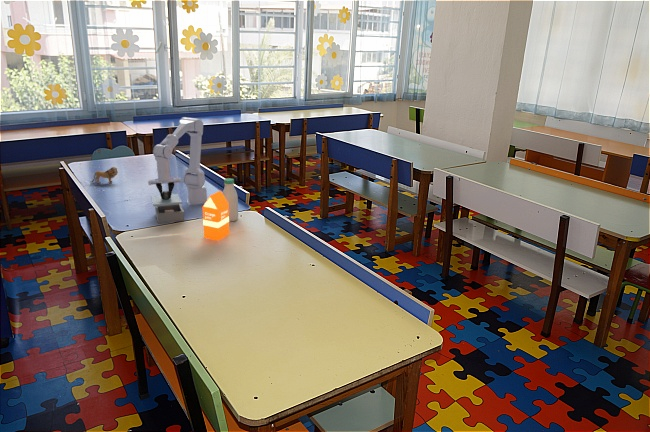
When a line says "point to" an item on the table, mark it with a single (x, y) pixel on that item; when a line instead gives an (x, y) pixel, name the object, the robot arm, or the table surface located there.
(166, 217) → the storage box
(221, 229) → the orange juice
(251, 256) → the table surface
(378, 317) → the table surface
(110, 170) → the lion figurine
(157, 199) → the lid
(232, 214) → the milk bottle
